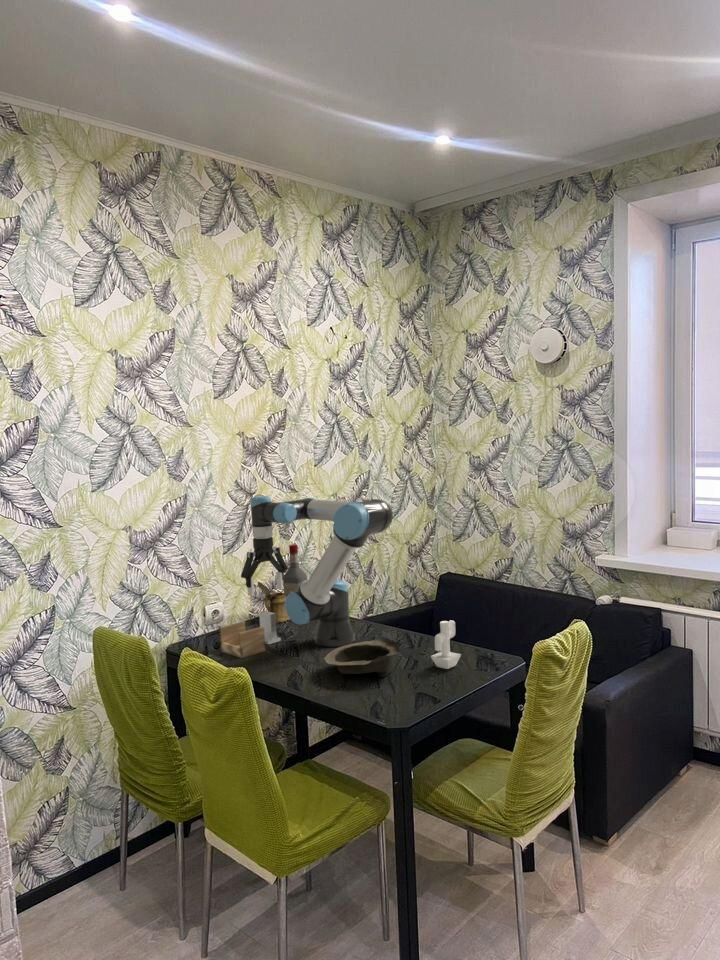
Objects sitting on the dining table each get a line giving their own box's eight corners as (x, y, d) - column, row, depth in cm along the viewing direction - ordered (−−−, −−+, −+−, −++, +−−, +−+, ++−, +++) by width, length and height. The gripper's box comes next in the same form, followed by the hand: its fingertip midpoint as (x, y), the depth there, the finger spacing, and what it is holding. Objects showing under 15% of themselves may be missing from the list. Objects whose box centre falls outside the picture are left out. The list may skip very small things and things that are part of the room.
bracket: (280, 640, 281) (279, 612, 280) (268, 644, 277) (266, 615, 276) (269, 637, 286) (267, 609, 285) (257, 641, 282) (255, 612, 281)
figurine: (428, 667, 242) (426, 623, 241) (445, 660, 249) (444, 616, 248) (446, 672, 237) (444, 626, 236) (463, 664, 244) (461, 619, 243)
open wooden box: (265, 650, 269) (264, 626, 268) (241, 658, 262) (240, 633, 261) (245, 644, 278) (243, 621, 277) (221, 651, 271) (219, 627, 270)
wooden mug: (254, 622, 309) (252, 580, 308) (282, 616, 317) (280, 575, 316) (265, 626, 302) (263, 583, 301) (293, 620, 310) (291, 577, 309)
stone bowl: (416, 672, 238) (414, 644, 236) (351, 696, 225) (348, 667, 223) (374, 653, 258) (372, 628, 257) (312, 674, 245) (309, 647, 244)
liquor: (302, 616, 315) (298, 547, 313) (282, 615, 318) (279, 547, 316) (310, 611, 324) (307, 543, 321) (292, 610, 327) (288, 543, 325)
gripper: (282, 531, 290) (285, 585, 292) (229, 540, 273) (232, 597, 274) (294, 533, 285) (297, 587, 286) (241, 542, 267) (244, 600, 269)
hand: (265, 592), depth 280 cm, fingers open, 13 cm apart
